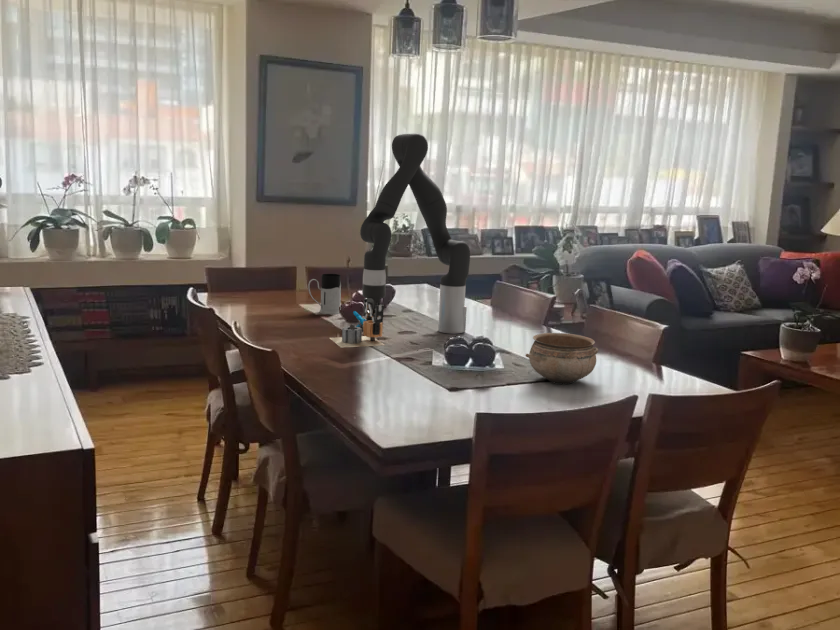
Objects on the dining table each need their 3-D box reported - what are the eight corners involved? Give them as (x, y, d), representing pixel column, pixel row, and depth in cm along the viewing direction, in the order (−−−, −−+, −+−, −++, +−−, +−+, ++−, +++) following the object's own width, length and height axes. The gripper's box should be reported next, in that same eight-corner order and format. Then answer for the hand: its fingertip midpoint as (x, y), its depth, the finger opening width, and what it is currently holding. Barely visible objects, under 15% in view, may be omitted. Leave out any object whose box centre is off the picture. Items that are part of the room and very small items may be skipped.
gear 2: (378, 332, 258) (378, 319, 257) (384, 337, 252) (385, 323, 251) (360, 333, 255) (360, 320, 255) (366, 337, 250) (366, 324, 249)
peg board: (371, 339, 261) (372, 318, 260) (385, 348, 249) (385, 327, 247) (329, 341, 256) (329, 320, 254) (340, 351, 243) (341, 329, 242)
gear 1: (353, 338, 256) (353, 325, 255) (365, 342, 251) (365, 328, 251) (338, 341, 251) (338, 327, 251) (350, 344, 247) (350, 331, 246)
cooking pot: (544, 394, 205) (548, 350, 203) (505, 376, 221) (508, 335, 219) (616, 385, 216) (620, 343, 214) (574, 369, 233) (577, 330, 230)
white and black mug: (345, 313, 305) (346, 276, 302) (313, 315, 297) (313, 277, 294) (334, 309, 312) (335, 273, 309) (303, 311, 304) (303, 274, 301)
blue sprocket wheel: (374, 331, 267) (354, 310, 266) (361, 342, 267) (342, 321, 267) (375, 328, 278) (357, 308, 277) (363, 339, 278) (345, 319, 278)
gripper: (392, 286, 245) (390, 336, 248) (377, 279, 258) (376, 327, 261) (370, 286, 242) (368, 337, 246) (356, 279, 256) (355, 328, 259)
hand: (372, 332), depth 254 cm, fingers closed on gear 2, 6 cm apart
